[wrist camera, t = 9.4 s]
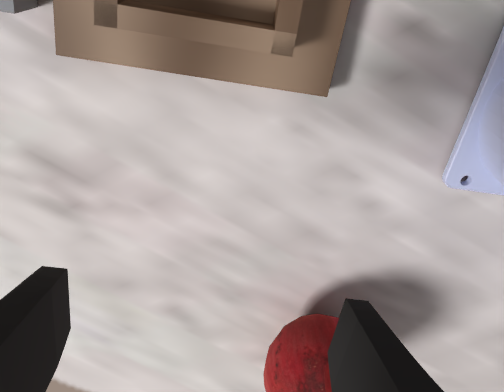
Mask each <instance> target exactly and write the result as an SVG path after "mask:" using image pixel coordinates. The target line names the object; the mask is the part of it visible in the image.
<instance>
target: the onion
mask: <svg viewBox="0 0 504 392" xmlns="http://www.w3.org/2000/svg"><path fill="white" fill-rule="evenodd" d="M338 320H339V318H337V317H333V316H328V315H322V314H312V315H306V316H301V317H299V318H297V319H296V320H294V321H292V322H291V323H289V324H287V325H285V326H284V327H283V329H282V330H281V332H280V333H279V334H278V336H277V337H276V338H275V340H274V341H273V342H272V344H271V345H270V346H269V350H268V354H267V358H266V363H265V369H264V385H265V389H266V392H332V390H331V382H330V374H329V364H328V353H327V352H328V349H329V346H330V343H331V341H332V338H333V335H334V332H335V329H336V326H337V323H338Z"/></svg>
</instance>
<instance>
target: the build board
mask: <svg viewBox="0 0 504 392" xmlns="http://www.w3.org/2000/svg"><path fill="white" fill-rule="evenodd" d="M350 2H351V0H53V8H54V26H55V44H56V55H60V56H67V57H73V58H79V59H86V60H92V61H99V62H105V63H112V64H118V65H124V66H131V67H137V68H144V69H150V70H157V71H163V72H169V73H176V74H182V75H189V76H195V77H201V78H208V79H214V80H221V81H227V82H234V83H240V84H246V85H253V86H259V87H266V88H272V89H279V90H285V91H291V92H298V93H304V94H311V95H317V96H324V97H327V96H328V92H329V88H330V83H331V79H332V75H333V71H334V67H335V63H336V59H337V55H338V51H339V47H340V43H341V39H342V35H343V30H344V26H345V22H346V18H347V14H348V10H349V6H350Z"/></svg>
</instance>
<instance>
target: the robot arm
mask: <svg viewBox="0 0 504 392" xmlns="http://www.w3.org/2000/svg"><path fill="white" fill-rule="evenodd" d="M464 176H468V178H467V179H466V180H465V181H463V182H460V180H461V179H462V177H464ZM442 179H443V182H444V183H445V184H446V185H447V186H448V187H450V188H455V189H462V190H469V191H476V192H483V193H490V194H497V195H504V27H503V29H502V32H501V34H500V37H499V39H498V42H497V44H496V46H495V49H494V51H493V54H492V56H491V59H490V61H489V63H488V66H487V68H486V71H485V73H484V76H483V78H482V80H481V83H480V85H479V88H478V90H477V93H476V95H475V98H474V100H473V102H472V105H471V107H470V110H469V112H468V115H467V117H466V119H465V122H464V124H463V127H462V129H461V132H460V134H459V136H458V139H457V141H456V144H455V146H454V149H453V151H452V153H451V156H450V158H449V161H448V163H447V166H446V168H445V171H444V173H443V176H442ZM70 329H71V326H70V308H69V290H68V271H67V269H64V268H54V267H45V266H42V267H41V268H39V269H38V270H37V271H35V272H34V273H33V274H32V275H30V276H29V277H28V278H27V279H25V280H24V281H23V282H22V283H21V284H19V285H18V286H17V287H16V288H14V289H13V290H12V291H11V292H10V293H8V294H7V295H6V296H5V297H3V298H2V299H1V300H0V392H46V389H47V387H48V385H49V383H50V381H51V379H52V377H53V375H54V373H55V371H56V369H57V366H58V364H59V361H60V358H61V355H62V352H63V350H64V347H65V344H66V341H67V338H68V335H69V332H70ZM327 353H328V364H329V374H330V382H331V390H332V392H444V391H443V390H442V389H441V388H440V387H439V386H438V385H437V384H436V383H435V381H434V380H433V379H432V378H431V377H430V376H429V375H428V374H427V372H426V371H425V370H424V369H423V368H422V367H421V366H420V364H419V363H418V362H417V361H416V360H415V358H414V357H413V356H412V355H411V354H410V353H409V351H408V350H407V349H406V348H405V346H404V345H403V344H402V343H401V342H400V340H399V339H398V338H397V337H396V335H395V334H394V333H393V332H392V330H391V329H390V328H389V327H388V325H387V324H386V323H385V321H384V320H383V319H382V318H381V316H380V315H379V314H378V313H377V311H376V310H375V309H374V308H373V306H372V305H371V304H370V303H369V302H368V301H364V300H354V299H346V300H345V302H344V305H343V308H342V311H341V314H340V317H339V320H338V323H337V326H336V329H335V332H334V335H333V338H332V341H331V343H330V346H329V349H328V352H327Z"/></svg>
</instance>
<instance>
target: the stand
mask: <svg viewBox="0 0 504 392" xmlns="http://www.w3.org/2000/svg"><path fill="white" fill-rule="evenodd" d="M36 7H38V4H37V0H0V11H2V12H8V13H14V14H15V13H18V12H22V11H26V10H29V9H33V8H36Z"/></svg>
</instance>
